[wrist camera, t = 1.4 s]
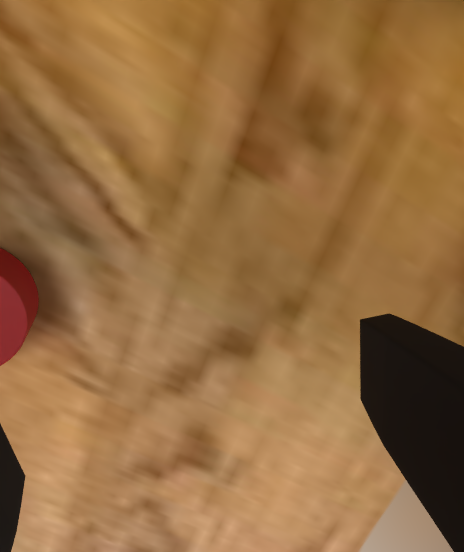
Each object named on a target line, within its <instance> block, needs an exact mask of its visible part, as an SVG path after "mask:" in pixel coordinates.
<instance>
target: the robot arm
mask: <svg viewBox="0 0 464 552" xmlns="http://www.w3.org/2000/svg"><path fill="white" fill-rule="evenodd" d="M360 378H361V401H362V403H363V405H364V407H365V409H366V411H367V413H368V416H369V418H370V420H371V422H372V424H373V426H374V428H375V430H376V432H377V434H378V436H379V437H380V439H381V441H382V443H383V445H384V447H385V448H386V450H387V451H388V453H389V454H390V456H391V457H392V459H393V460H394V462H395V464H396V465H397V467H398V468H399V470H400V471H401V473H402V474H403V476H404V477H405V479H406V480H407V482H408V483H409V485H410V486H411V488H412V489H413V491H414V492H415V494H416V495H417V497H418V498H419V500H420V501H421V503H422V504H423V506H424V507H425V509H426V510H427V512H428V513H429V515H430V516H431V518H432V519H433V521H434V522H435V524H436V525H437V527H438V528H439V530H440V531H441V533H442V534H443V536H444V537H445V539H446V540H447V542H448V543H449V545H450V546H451V548H452V549H453V551H454V552H464V347H463V346H461V345H459V344H456V343H454V342H452V341H450V340H448V339H446V338H444V337H441V336H439V335H437V334H435V333H433V332H431V331H428V330H426V329H424V328H422V327H420V326H418V325H415V324H413V323H411V322H409V321H406V320H404V319H402V318H399V317H397V316H394V315H392V314H384V315H380V316H375V317H370V318H365V319H361V320H360ZM24 481H25V474H24V472H23V470H22V468H21V466H20V464H19V462H18V460H17V458H16V456H15V454H14V451H13V449H12V447H11V445H10V443H9V441H8V439H7V437H6V435H5V433H4V431H3V428H2V426H1V424H0V552H11V549H12V546H13V542H14V538H15V535H16V531H17V525H18V519H19V514H20V508H21V502H22V495H23V488H24Z"/></svg>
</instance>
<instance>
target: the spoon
mask: <svg viewBox="0 0 464 552" xmlns="http://www.w3.org/2000/svg"><path fill="white" fill-rule="evenodd" d="M38 302H39V298H38V291H37V287H36V284H35V282H34V280H33V278H32V276H31V274H30V273H29V271H28V270H27V269H26V267H25V266H24V265H23V264H22V263H21V262H20V261H19V260H18V259H17V258H15V257H14V256H13V255H12V254H10V253H8V252H7V251H5V250H3V249H1V248H0V366H1V365H3V364H4V363H6V362H7V361H8V360H10V359H11V358H12V357H13V356H14V355H15V354H16V353H17V352H18V350H19V349H20V348H21V346H22V344H23V342H24V340H25V338H26V336H27V334H28V332H29V330H30V328H31V326H32V323H33V321H34V319H35V317H36V314H37V310H38Z"/></svg>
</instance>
